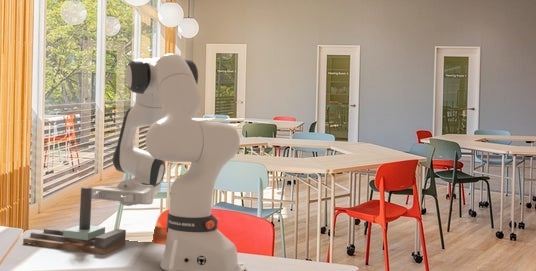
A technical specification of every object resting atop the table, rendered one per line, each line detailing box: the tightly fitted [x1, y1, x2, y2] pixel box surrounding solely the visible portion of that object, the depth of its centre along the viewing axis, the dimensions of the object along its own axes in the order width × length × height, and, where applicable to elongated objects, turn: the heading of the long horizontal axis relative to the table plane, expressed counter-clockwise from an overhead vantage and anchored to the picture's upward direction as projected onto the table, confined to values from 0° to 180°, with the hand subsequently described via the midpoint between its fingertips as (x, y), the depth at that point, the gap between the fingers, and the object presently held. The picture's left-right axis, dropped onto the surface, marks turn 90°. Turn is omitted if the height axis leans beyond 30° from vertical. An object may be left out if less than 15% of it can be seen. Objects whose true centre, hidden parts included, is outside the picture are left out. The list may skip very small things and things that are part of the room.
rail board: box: [22, 227, 127, 255], centre depth 159 cm, size 26×12×4 cm, turn 76°
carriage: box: [63, 186, 106, 240], centre depth 158 cm, size 8×9×14 cm
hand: (108, 197), depth 170 cm, fingers open, 8 cm apart
